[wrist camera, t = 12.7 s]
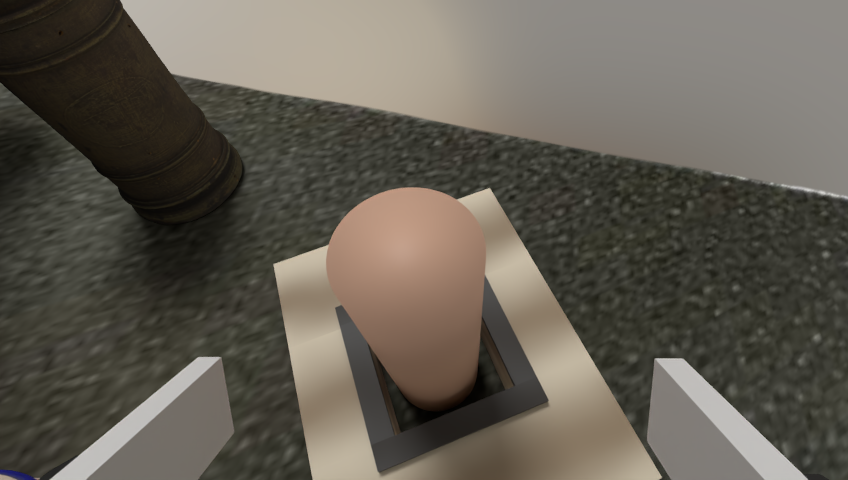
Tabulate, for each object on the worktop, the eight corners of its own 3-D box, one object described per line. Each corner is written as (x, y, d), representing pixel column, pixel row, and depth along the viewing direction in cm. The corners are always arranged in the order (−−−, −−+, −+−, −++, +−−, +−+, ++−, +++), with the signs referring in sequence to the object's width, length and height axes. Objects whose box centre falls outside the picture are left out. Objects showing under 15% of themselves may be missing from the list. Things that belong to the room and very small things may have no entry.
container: (263, 155, 35) (107, -98, 20) (200, 239, 31) (-56, -1, 16) (183, 136, 38) (-11, -105, 22) (114, 211, 34) (-181, -21, 18)
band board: (290, 284, 28) (270, 261, 25) (488, 213, 30) (490, 184, 27) (356, 607, 19) (336, 628, 16) (638, 479, 21) (665, 477, 18)
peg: (384, 344, 25) (311, 216, 14) (458, 315, 26) (449, 169, 14) (410, 425, 23) (347, 354, 11) (491, 392, 23) (515, 290, 12)
